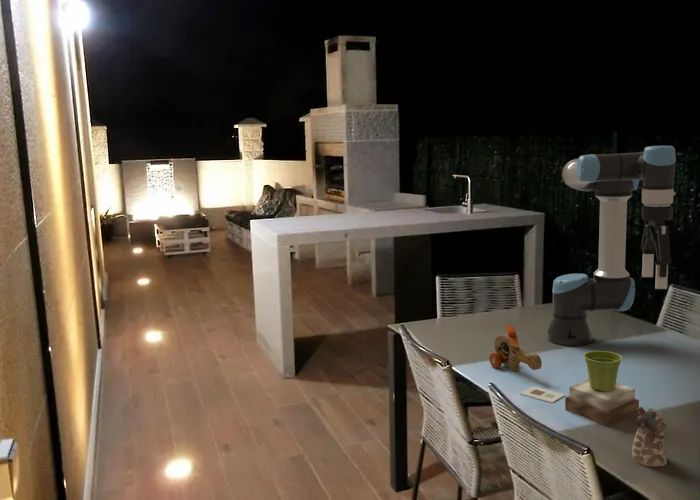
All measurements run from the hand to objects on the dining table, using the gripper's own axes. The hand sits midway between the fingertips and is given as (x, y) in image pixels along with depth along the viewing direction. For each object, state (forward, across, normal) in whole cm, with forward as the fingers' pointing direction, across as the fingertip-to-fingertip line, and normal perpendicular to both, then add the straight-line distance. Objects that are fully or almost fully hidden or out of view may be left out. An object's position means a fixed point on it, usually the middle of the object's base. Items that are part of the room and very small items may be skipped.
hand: (653, 282), depth 174 cm
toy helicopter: (+32, +15, +36) cm, 50 cm away
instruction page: (+32, -4, +29) cm, 43 cm away
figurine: (+31, -39, +10) cm, 51 cm away
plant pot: (+25, -13, +15) cm, 32 cm away
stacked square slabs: (+32, -14, +15) cm, 38 cm away
